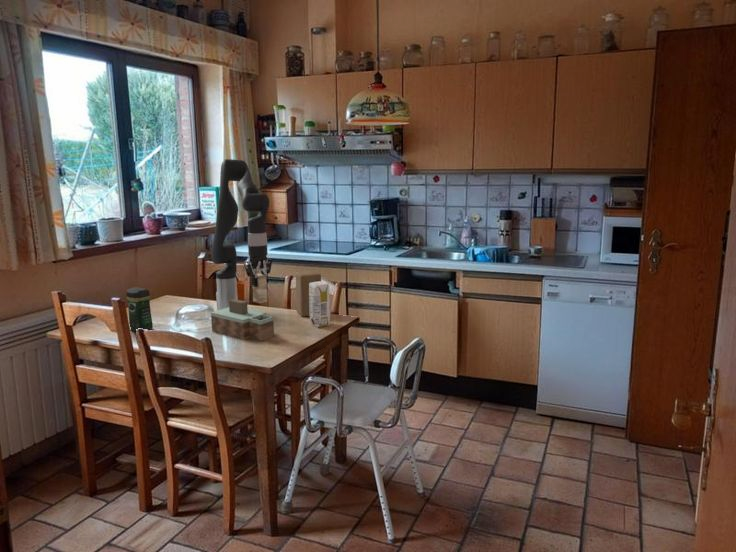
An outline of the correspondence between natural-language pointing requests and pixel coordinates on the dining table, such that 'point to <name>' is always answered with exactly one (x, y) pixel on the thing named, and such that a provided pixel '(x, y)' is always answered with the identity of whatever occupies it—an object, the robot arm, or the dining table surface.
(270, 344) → the dining table surface
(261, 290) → the beige rectangular block
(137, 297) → the coffee jar
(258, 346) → the dining table surface
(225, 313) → the lid
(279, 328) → the dining table surface
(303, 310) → the wooden block
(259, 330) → the wooden tray
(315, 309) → the juice carton
